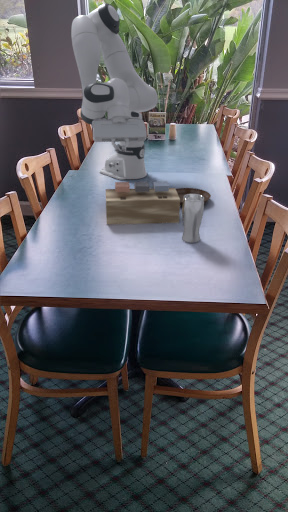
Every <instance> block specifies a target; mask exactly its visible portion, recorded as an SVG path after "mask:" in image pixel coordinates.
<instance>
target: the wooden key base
mask: <svg viewBox="0 0 288 512" xmlns="http://www.w3.org/2000/svg"><path fill="white" fill-rule="evenodd" d="M176 189H177V188H175V187H169V191H154V187H153V188H151V187H149V192H135V188H130V192H116V190H115V188H106V189H105V213H106V216H105V218H106V219H105V220H106V226H107V225H134V224H135V225H143V224H150V225H151V224H179V222H180V207H181V206H180V198H179V196H178V194H177V191H176Z"/></svg>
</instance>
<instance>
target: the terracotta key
mask: <svg viewBox="0 0 288 512" xmlns="http://www.w3.org/2000/svg"><path fill="white" fill-rule="evenodd" d="M114 187H115V188H114V189H115V190H116V192H130V189H131V188H130V187H131V186H130V182H129V181H115V182H114Z"/></svg>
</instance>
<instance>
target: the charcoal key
mask: <svg viewBox="0 0 288 512" xmlns="http://www.w3.org/2000/svg"><path fill="white" fill-rule="evenodd" d="M133 185H134V188H133V189H135V192H149V188H150V184H149V181H134V184H133Z"/></svg>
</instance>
